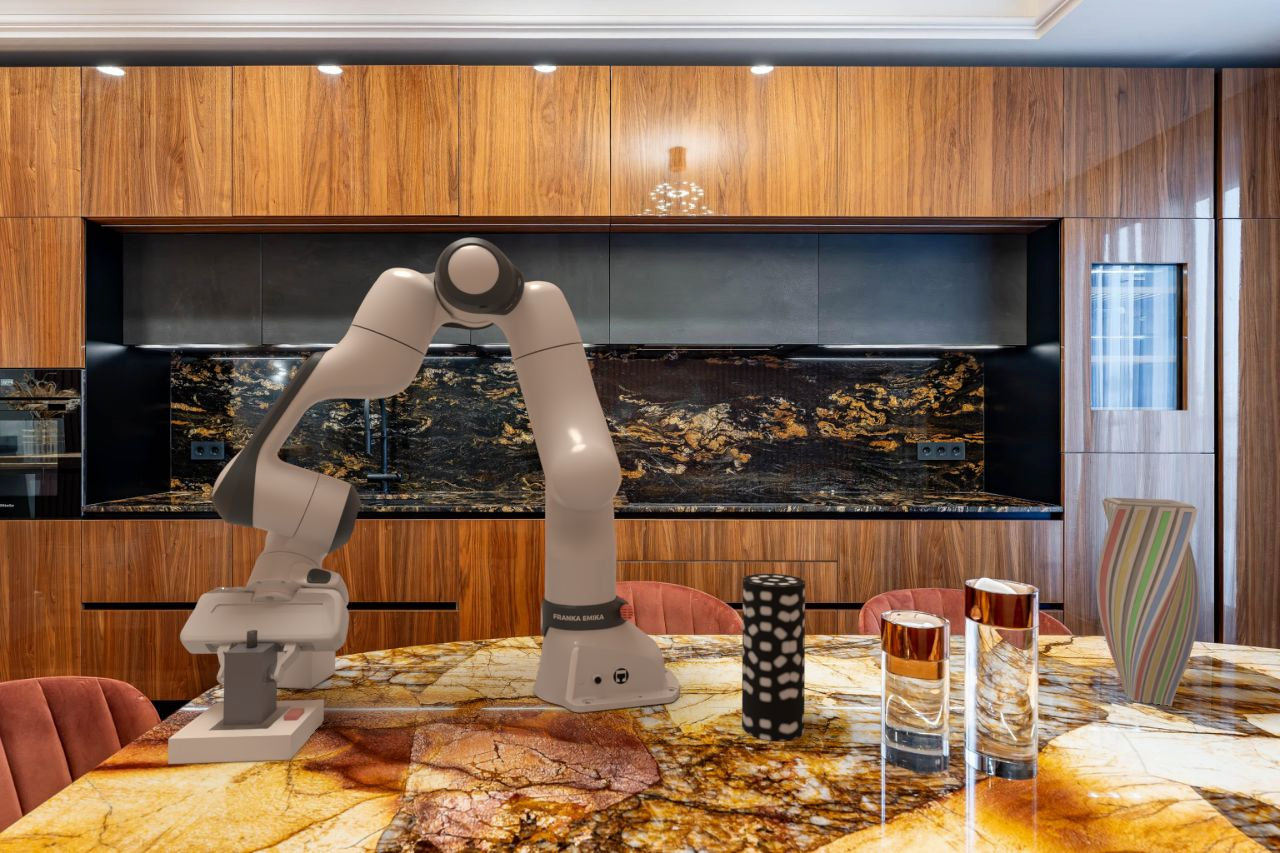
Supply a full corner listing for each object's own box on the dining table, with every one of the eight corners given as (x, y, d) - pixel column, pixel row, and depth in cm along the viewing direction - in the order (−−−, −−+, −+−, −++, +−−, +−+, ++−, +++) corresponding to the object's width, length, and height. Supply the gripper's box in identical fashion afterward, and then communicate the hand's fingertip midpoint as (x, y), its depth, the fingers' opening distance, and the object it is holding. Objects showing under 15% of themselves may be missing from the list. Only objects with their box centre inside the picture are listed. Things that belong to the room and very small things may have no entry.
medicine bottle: (336, 673, 113) (336, 600, 113) (311, 689, 106) (311, 611, 106) (294, 671, 114) (295, 599, 114) (267, 687, 107) (268, 610, 107)
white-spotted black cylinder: (809, 721, 96) (810, 577, 96) (797, 746, 88) (797, 589, 88) (751, 711, 99) (752, 571, 99) (734, 733, 92) (735, 582, 92)
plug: (276, 709, 91) (277, 626, 91) (261, 724, 86) (262, 636, 86) (240, 710, 90) (242, 626, 91) (223, 725, 86) (224, 636, 86)
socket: (323, 721, 94) (323, 695, 95) (290, 759, 84) (290, 729, 84) (216, 725, 93) (216, 698, 93) (168, 764, 82) (168, 733, 82)
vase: (1105, 707, 101) (1105, 503, 102) (1085, 677, 114) (1085, 495, 114) (1219, 722, 96) (1219, 507, 97) (1185, 689, 109) (1185, 499, 109)
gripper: (196, 574, 94) (151, 671, 85) (351, 573, 96) (325, 667, 87) (213, 599, 99) (172, 694, 89) (360, 598, 101) (336, 690, 91)
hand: (248, 681), depth 88 cm, fingers closed on plug, 4 cm apart
